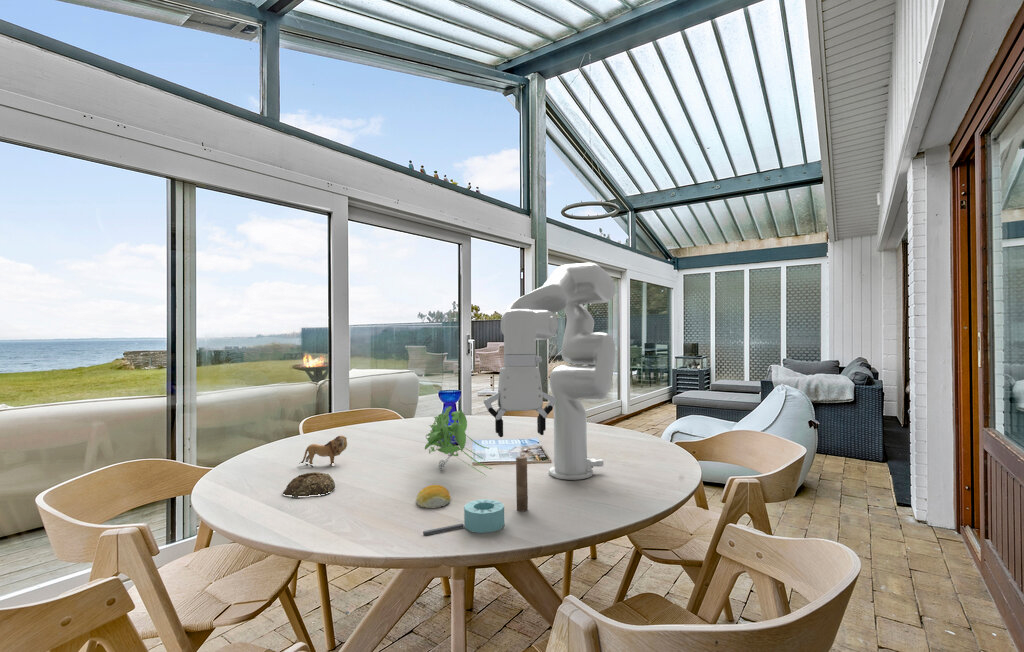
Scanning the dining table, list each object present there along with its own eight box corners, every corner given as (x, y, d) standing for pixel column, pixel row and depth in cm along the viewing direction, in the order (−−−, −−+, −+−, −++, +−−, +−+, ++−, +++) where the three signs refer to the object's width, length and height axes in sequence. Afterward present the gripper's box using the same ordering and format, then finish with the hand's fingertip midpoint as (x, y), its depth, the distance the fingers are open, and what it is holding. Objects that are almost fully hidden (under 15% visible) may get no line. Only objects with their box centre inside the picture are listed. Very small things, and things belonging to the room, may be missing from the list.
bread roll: (448, 495, 125) (448, 479, 125) (451, 507, 117) (451, 490, 117) (415, 498, 124) (415, 482, 124) (416, 510, 115) (416, 493, 115)
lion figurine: (348, 461, 159) (347, 433, 160) (346, 465, 154) (346, 437, 154) (299, 464, 156) (299, 436, 156) (296, 469, 151) (296, 440, 151)
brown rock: (335, 482, 138) (335, 464, 138) (335, 495, 126) (335, 476, 126) (285, 487, 134) (285, 469, 134) (280, 502, 122) (280, 482, 122)
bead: (500, 515, 110) (499, 498, 110) (507, 530, 102) (506, 511, 102) (462, 519, 109) (462, 501, 109) (467, 534, 100) (466, 514, 100)
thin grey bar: (462, 526, 105) (462, 523, 105) (463, 527, 104) (463, 524, 104) (423, 534, 101) (423, 531, 101) (424, 535, 100) (424, 532, 100)
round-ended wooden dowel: (526, 506, 116) (525, 456, 116) (528, 510, 113) (528, 458, 113) (515, 507, 115) (514, 456, 115) (518, 511, 113) (517, 459, 113)
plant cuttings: (470, 474, 166) (417, 436, 165) (500, 433, 167) (447, 395, 165) (469, 512, 131) (402, 464, 130) (507, 460, 132) (440, 412, 131)
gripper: (551, 360, 120) (551, 430, 120) (481, 361, 116) (481, 433, 116) (560, 361, 113) (560, 436, 112) (486, 363, 109) (486, 440, 109)
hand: (520, 434), depth 114 cm, fingers open, 9 cm apart
